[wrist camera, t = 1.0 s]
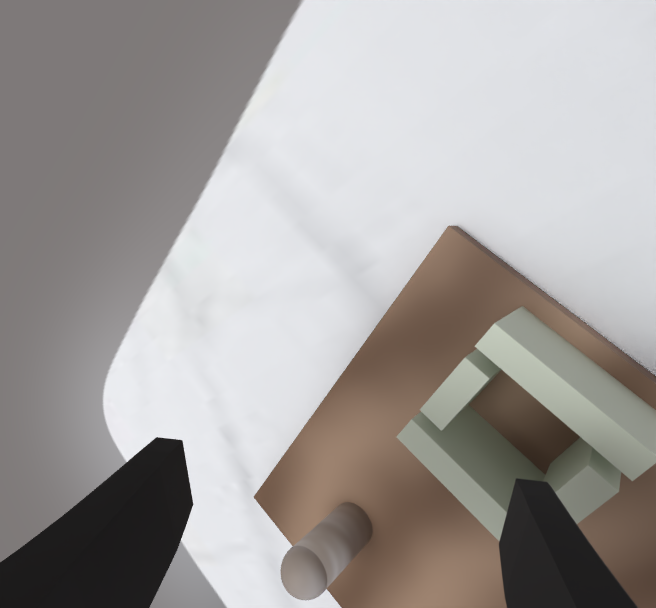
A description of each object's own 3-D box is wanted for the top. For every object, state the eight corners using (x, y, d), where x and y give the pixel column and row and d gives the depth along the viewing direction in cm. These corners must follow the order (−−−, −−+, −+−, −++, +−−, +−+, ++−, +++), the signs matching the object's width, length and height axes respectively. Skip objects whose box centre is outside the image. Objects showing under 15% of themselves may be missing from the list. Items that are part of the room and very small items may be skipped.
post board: (830, 508, 15) (920, 650, 10) (460, 729, 23) (408, 866, 18) (456, 225, 20) (392, 225, 15) (264, 489, 29) (183, 544, 24)
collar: (658, 412, 16) (660, 459, 13) (545, 506, 19) (523, 566, 15) (522, 305, 18) (494, 323, 15) (436, 403, 21) (396, 437, 17)
